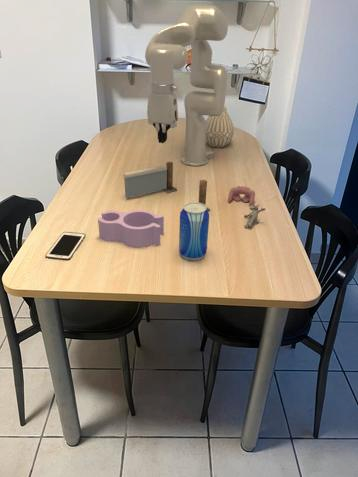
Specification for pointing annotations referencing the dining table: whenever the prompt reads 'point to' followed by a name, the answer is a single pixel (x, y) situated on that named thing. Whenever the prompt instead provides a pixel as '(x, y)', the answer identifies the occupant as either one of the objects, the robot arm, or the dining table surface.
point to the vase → (219, 130)
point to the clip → (131, 227)
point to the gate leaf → (145, 181)
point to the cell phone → (65, 246)
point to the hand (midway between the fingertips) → (162, 141)
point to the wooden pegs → (171, 189)
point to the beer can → (193, 231)
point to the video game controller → (242, 190)
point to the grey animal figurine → (253, 215)
